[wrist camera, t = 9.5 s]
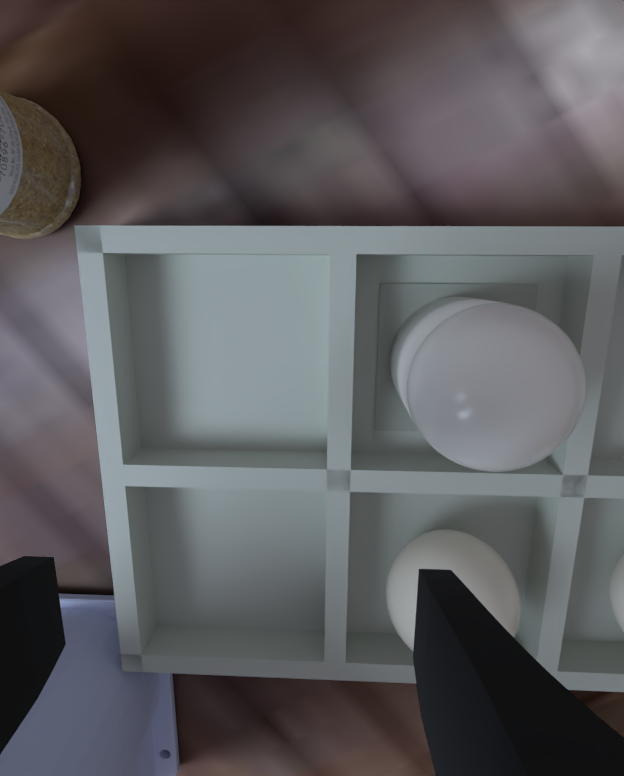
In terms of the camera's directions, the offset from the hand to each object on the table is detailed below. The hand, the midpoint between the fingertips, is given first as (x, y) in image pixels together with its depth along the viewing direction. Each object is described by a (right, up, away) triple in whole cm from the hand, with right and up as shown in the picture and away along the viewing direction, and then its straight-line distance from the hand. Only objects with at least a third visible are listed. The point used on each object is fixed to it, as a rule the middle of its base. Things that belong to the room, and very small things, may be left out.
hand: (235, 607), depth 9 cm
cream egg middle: (+6, -2, +9) cm, 11 cm away
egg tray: (+6, +2, +9) cm, 11 cm away
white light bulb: (+6, +5, +7) cm, 11 cm away
